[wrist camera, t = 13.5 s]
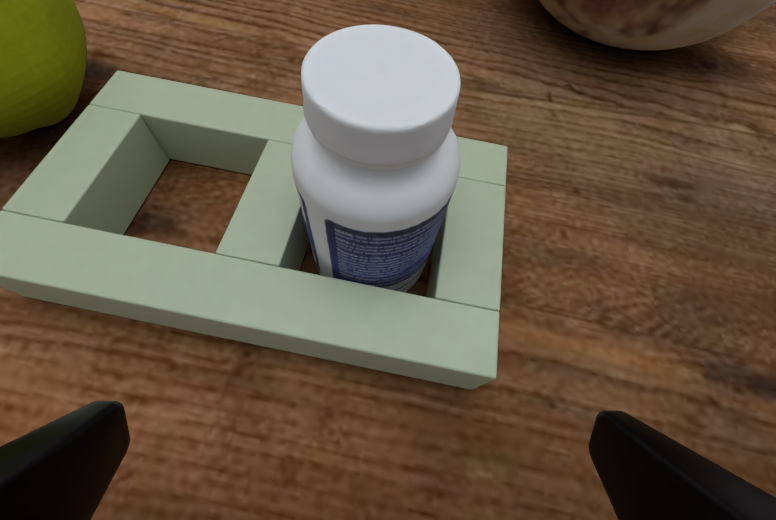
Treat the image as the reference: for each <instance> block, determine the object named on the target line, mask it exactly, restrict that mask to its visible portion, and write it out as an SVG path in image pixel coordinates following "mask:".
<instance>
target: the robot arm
mask: <svg viewBox="0 0 776 520" xmlns="http://www.w3.org/2000/svg"><path fill="white" fill-rule="evenodd" d="M129 442H130V435H129V430H128V425H127V420H126V415H125V410H124V406H123V405H122V404H121V403H120V402H118V401H95V402H92V403H90V404H88V405H86V406H83V407H81V408H79V409H77V410H75V411H73V412H71V413H69V414H67V415H65V416H63V417H61V418H59V419H57V420H55V421H53V422H51V423H48V424H46V425H44V426H42V427H40V428H38V429H36V430H34V431H32V432H30V433H28V434H26V435H24V436H22V437H20V438H18V439H16V440H14V441H11V442H9V443H7V444H5V445H3V446H1V447H0V520H91V518H92V516H93V514H94V512H95V510H96V508H97V507H98V505H99V503H100V501H101V499H102V497H103V495H104V493H105V492H106V490H107V488H108V486H109V484H110V482H111V480H112V478H113V477H114V475H115V473H116V471H117V469H118V467H119V465H120V463H121V461H122V460H123V458H124V456H125V454H126V452H127V449H128V447H129ZM589 452H590V456H591V459H592V461H593V463H594V465H595V468H596V470H597V472H598V474H599V477H600V479H601V481H602V483H603V486H604V488H605V490H606V492H607V495H608V497H609V499H610V502H611V504H612V506H613V508H614V511H615V513H616V515H617V517H618V520H776V498H775V497H773V496H772V495H770V494H768V493H766V492H765V491H763V490H761V489H759V488H758V487H756V486H754V485H752V484H750V483H749V482H747V481H745V480H743V479H742V478H740V477H738V476H736V475H735V474H733V473H731V472H729V471H727V470H726V469H724V468H722V467H720V466H719V465H717V464H715V463H713V462H712V461H710V460H708V459H706V458H704V457H703V456H701V455H699V454H697V453H696V452H694V451H692V450H690V449H689V448H687V447H685V446H683V445H681V444H680V443H678V442H676V441H674V440H673V439H671V438H669V437H667V436H666V435H664V434H662V433H660V432H658V431H657V430H655V429H653V428H651V427H650V426H648V425H646V424H644V423H643V422H641V421H639V420H637V419H635V418H634V417H632V416H630V415H628V414H627V413H625V412H622V411H601V412H600V413H599V414H598V415H597V417H596V421H595V424H594V428H593V431H592V435H591V438H590V441H589Z"/></svg>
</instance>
